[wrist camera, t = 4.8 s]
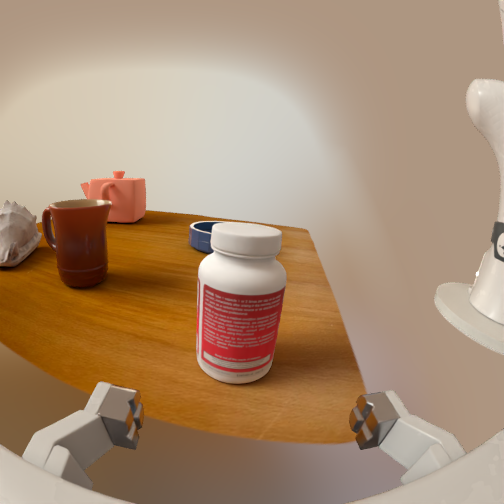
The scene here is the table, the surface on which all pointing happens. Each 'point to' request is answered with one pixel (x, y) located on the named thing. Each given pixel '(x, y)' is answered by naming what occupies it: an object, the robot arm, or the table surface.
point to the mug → (79, 240)
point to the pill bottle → (239, 302)
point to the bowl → (202, 235)
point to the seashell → (16, 234)
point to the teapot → (119, 196)
